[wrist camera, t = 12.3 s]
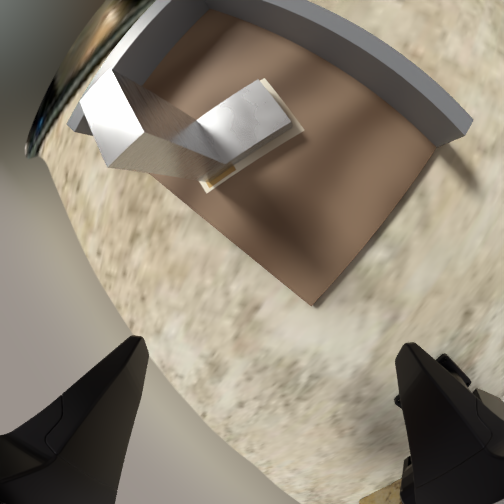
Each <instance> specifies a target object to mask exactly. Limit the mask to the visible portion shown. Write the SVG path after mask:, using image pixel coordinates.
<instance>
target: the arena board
mask: <svg viewBox="0 0 504 504" xmlns="http://www.w3.org/2000/svg"><path fill="white" fill-rule="evenodd" d="M258 79H259V81H260V82H261V83H262V84H263V86H264V87H265V88H266V89H267V90H268V92H269V93H270V94H271V96H272V97H273V98H274V99H275V101H276V102H277V103H278V105H279V106H280V107H281V108H282V110H283V111H284V112H285V114H286V115H287V116H288V118H289V119H290V121H291V122H292V127H293V128H291V129H290V130H288V131H286V132H285V133H283V134H282V135H280V136H278V137H277V138H275V139H273V140H272V141H270V142H269V143H267V144H265V145H264V146H262V147H261V148H259V149H258V150H256V151H255V152H253V153H252V154H250V155H248V156H247V157H245V158H244V159H242V160H241V161H239V162H238V163H236V164H235V165H234V166H232V167H231V168H229V169H228V170H226V171H225V172H223V173H222V174H220V175H219V176H218V177H216V178H215V179H213V180H212V181H211V182H203V181H197V180H192V179H186V178H179V177H173V176H167V175H160V174H153V173H149V174H150V175H152V176H153V177H154V178H155V179H156V180H158V181H159V182H160V183H161V184H162V185H164V186H165V187H166V188H167V189H168V190H170V191H171V192H172V193H173V194H175V195H176V196H177V197H178V198H179V199H181V200H182V201H183V202H184V203H185V204H187V205H188V206H189V207H190V208H192V209H193V210H194V211H195V212H196V213H198V214H199V215H200V216H201V217H202V218H204V219H205V220H206V221H207V222H209V223H210V224H211V225H212V226H213V227H215V228H216V229H217V230H218V231H219V232H221V233H222V234H223V235H224V236H226V237H227V238H228V239H229V240H230V241H232V242H233V243H234V244H235V245H237V246H238V247H239V248H240V249H241V250H243V251H244V252H245V253H246V254H248V255H249V256H250V257H251V258H252V259H254V260H255V261H256V262H257V263H259V264H260V265H261V266H262V267H263V268H265V269H266V270H267V271H268V272H270V273H271V274H272V275H273V276H275V277H276V278H277V279H278V280H279V281H281V282H282V283H283V284H284V285H286V286H287V287H288V288H289V289H291V290H292V291H293V292H294V293H295V294H297V295H298V296H299V297H300V298H302V299H303V300H304V301H305V302H307V303H308V304H309V305H310V306H312V305H313V304H314V303H315V302H316V300H317V299H318V298H319V297H320V296H321V295H322V294H323V293H324V292H325V291H326V290H327V288H328V287H329V286H330V285H331V284H332V283H333V282H334V281H335V279H336V278H337V277H338V276H339V275H340V274H341V273H342V272H343V270H344V269H345V268H346V267H347V266H348V265H349V263H350V262H351V261H352V260H353V259H354V258H355V256H356V255H357V254H358V253H359V252H360V250H361V249H362V248H363V247H364V246H365V244H366V243H367V242H368V241H369V239H370V238H371V237H372V236H373V234H374V233H375V232H376V231H377V229H378V228H379V227H380V226H381V224H382V223H383V222H384V221H385V219H386V218H387V217H388V215H389V214H390V213H391V211H392V210H393V209H394V207H395V206H396V205H397V203H398V202H399V201H400V199H401V198H402V197H403V195H404V194H405V193H406V191H407V190H408V188H409V187H410V186H411V184H412V183H413V182H414V180H415V179H416V177H417V176H418V174H419V173H420V172H421V170H422V169H423V167H424V166H425V164H426V163H427V161H428V160H429V158H430V157H431V155H432V154H433V152H434V151H435V149H436V148H437V147H436V146H435V145H434V144H433V143H432V142H431V141H430V140H429V139H428V138H427V137H426V136H425V135H424V134H422V133H421V132H420V131H419V130H418V129H417V128H416V127H415V126H414V125H413V124H412V123H411V122H409V121H408V120H407V119H406V118H405V117H404V116H403V115H401V114H400V113H399V112H398V111H397V110H395V109H394V108H393V107H392V106H391V105H389V104H388V103H387V102H386V101H384V100H383V99H382V98H381V97H379V96H378V95H377V94H375V93H374V92H373V91H371V90H370V89H369V88H367V87H366V86H364V85H363V84H362V83H360V82H359V81H357V80H356V79H354V78H353V77H352V76H350V75H349V74H347V73H345V72H344V71H342V70H341V69H339V68H338V67H336V66H335V65H333V64H331V63H330V62H328V61H326V60H325V59H323V58H321V57H320V56H318V55H316V54H314V53H313V52H311V51H309V50H307V49H305V48H303V47H302V46H300V45H298V44H296V43H294V42H292V41H290V40H288V39H286V38H284V37H282V36H279V35H277V34H275V33H273V32H271V31H269V30H266V29H264V28H262V27H259V26H257V25H254V24H252V23H249V22H247V21H244V20H242V19H239V18H236V17H234V16H231V15H228V14H225V13H222V12H219V11H216V10H212V9H209V10H208V11H207V12H206V13H205V14H204V15H203V16H202V17H201V18H200V19H199V20H198V21H197V22H196V23H195V24H194V25H193V26H192V27H191V28H190V29H189V30H188V31H187V32H186V33H185V34H184V35H183V36H182V38H181V39H180V40H179V41H178V42H177V43H176V44H175V45H174V47H173V48H172V49H171V50H170V51H169V52H168V54H167V55H166V56H165V57H164V58H163V60H162V61H161V62H160V63H159V65H158V66H157V67H156V68H155V70H154V71H153V72H152V74H151V75H150V76H149V77H148V79H147V80H146V82H145V83H144V84H143V86H142V87H144V88H146V89H147V90H149V91H151V92H152V93H154V94H156V95H157V96H159V97H161V98H162V99H164V100H166V101H167V102H169V103H170V104H172V105H174V106H175V107H177V108H178V109H180V110H181V111H183V112H184V113H186V114H188V115H189V116H191V117H192V118H194V119H195V120H198V119H199V118H200V117H202V116H203V115H204V114H206V113H207V112H209V111H210V110H211V109H213V108H214V107H216V106H217V105H219V104H220V103H222V102H223V101H224V100H226V99H227V98H229V97H230V96H232V95H234V94H235V93H237V92H238V91H240V90H241V89H243V88H244V87H246V86H248V85H249V84H251V83H253V82H254V81H256V80H258Z"/></svg>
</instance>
